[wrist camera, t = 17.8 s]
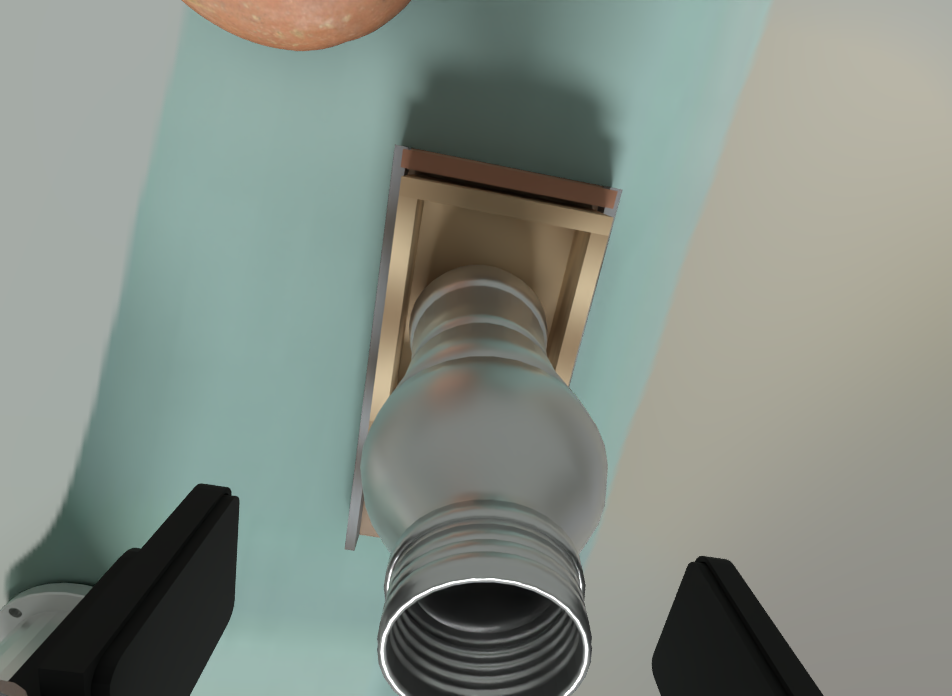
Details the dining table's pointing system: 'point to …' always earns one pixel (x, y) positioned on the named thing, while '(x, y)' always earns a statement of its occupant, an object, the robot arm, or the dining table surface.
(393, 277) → the box
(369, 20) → the ceramic jug
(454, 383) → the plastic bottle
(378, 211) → the dining table surface
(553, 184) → the wooden tray
